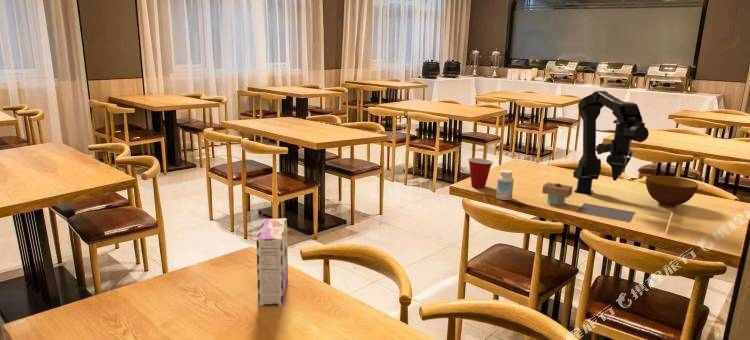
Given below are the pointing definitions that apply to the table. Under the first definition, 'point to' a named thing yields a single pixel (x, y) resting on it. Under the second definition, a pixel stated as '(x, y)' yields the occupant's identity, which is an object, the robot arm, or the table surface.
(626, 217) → the mat
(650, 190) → the bowl
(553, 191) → the lid
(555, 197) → the ramekin
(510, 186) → the pill bottle
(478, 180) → the plastic cup
